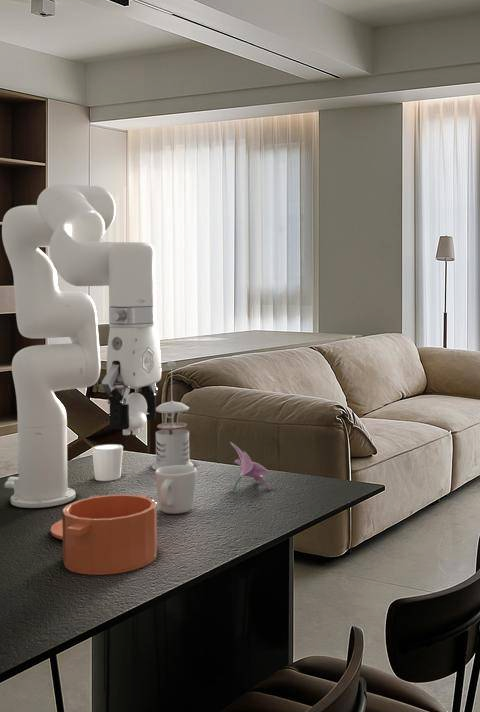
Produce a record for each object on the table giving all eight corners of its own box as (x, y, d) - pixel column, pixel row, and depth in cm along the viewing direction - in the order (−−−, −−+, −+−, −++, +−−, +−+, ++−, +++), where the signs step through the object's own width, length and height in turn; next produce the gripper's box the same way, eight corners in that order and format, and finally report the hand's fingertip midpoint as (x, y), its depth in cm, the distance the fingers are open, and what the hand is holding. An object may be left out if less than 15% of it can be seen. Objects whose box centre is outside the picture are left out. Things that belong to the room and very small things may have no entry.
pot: (33, 575, 132) (32, 520, 132) (107, 535, 151) (106, 487, 151) (114, 585, 127) (114, 528, 127) (180, 543, 146) (180, 494, 146)
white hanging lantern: (153, 472, 197) (152, 364, 197) (149, 461, 209) (148, 358, 208) (196, 469, 200) (194, 362, 200) (189, 458, 211) (188, 357, 211)
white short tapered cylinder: (129, 476, 194) (129, 445, 194) (107, 483, 188) (106, 451, 188) (108, 472, 198) (107, 442, 197) (85, 479, 192) (85, 448, 192)
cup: (183, 522, 159) (182, 479, 159) (142, 520, 160) (142, 477, 160) (203, 506, 169) (202, 465, 169) (165, 504, 171) (164, 464, 171)
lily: (268, 503, 174) (284, 458, 177) (214, 482, 173) (232, 437, 177) (261, 506, 185) (276, 464, 189) (210, 486, 184) (227, 444, 188)
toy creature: (151, 427, 145) (151, 390, 145) (142, 437, 137) (142, 397, 137) (124, 427, 145) (124, 390, 145) (113, 437, 137) (113, 398, 137)
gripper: (123, 321, 131) (124, 435, 132) (178, 314, 148) (179, 415, 148) (82, 320, 134) (83, 432, 134) (140, 313, 150) (141, 413, 151)
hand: (133, 423), depth 141 cm, fingers closed on toy creature, 7 cm apart
